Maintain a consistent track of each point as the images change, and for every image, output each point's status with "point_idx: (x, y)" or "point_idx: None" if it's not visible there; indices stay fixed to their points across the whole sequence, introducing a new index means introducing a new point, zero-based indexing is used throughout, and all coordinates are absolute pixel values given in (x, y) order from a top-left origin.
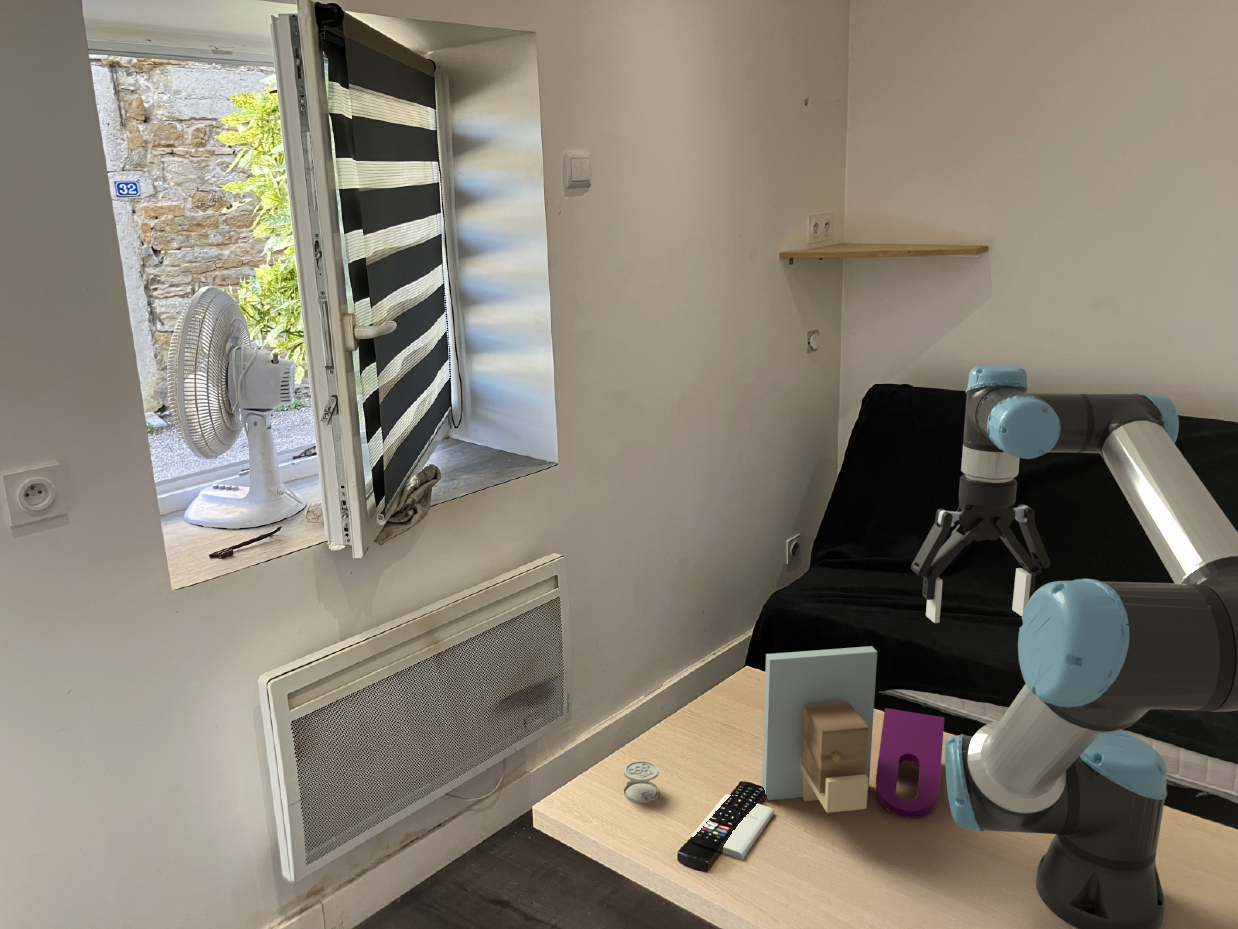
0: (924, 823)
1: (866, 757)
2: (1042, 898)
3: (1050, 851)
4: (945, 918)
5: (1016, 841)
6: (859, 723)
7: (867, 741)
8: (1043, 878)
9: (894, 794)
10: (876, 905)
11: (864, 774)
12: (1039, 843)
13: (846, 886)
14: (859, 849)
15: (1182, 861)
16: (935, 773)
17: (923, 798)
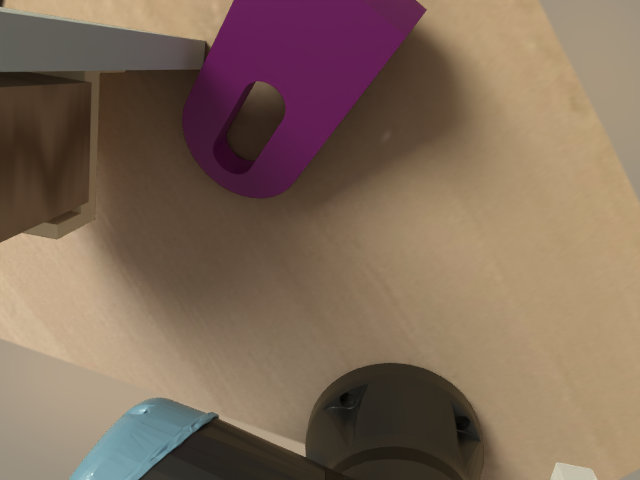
0: (252, 200)
1: (43, 222)
2: (310, 416)
3: (327, 443)
4: (157, 391)
5: (376, 297)
6: None
7: (16, 234)
8: (311, 428)
9: (209, 148)
10: (76, 339)
11: (54, 224)
12: (411, 314)
13: (49, 291)
14: (105, 224)
15: (599, 426)
16: (302, 153)
17: (256, 182)
